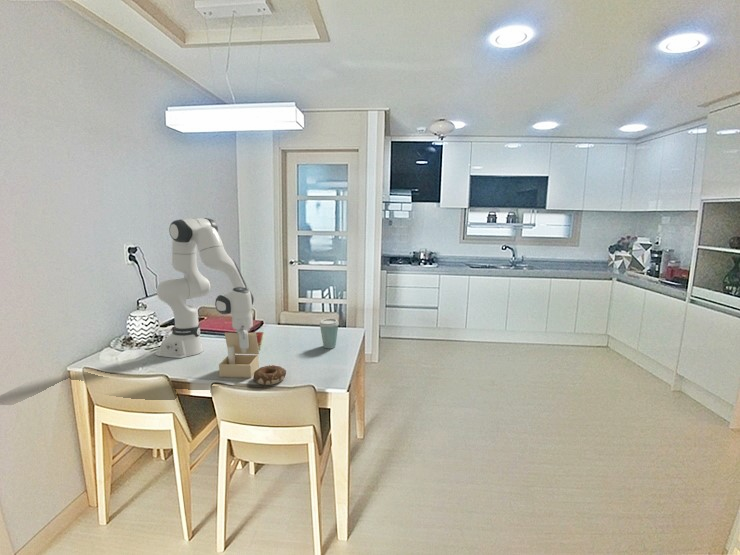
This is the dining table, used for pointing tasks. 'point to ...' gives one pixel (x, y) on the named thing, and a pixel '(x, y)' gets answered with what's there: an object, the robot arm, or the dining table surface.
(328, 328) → the disposable coffee cup
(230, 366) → the box
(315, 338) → the dining table surface
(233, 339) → the lid
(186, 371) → the dining table surface
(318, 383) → the dining table surface
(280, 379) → the donut
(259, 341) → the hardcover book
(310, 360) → the dining table surface
